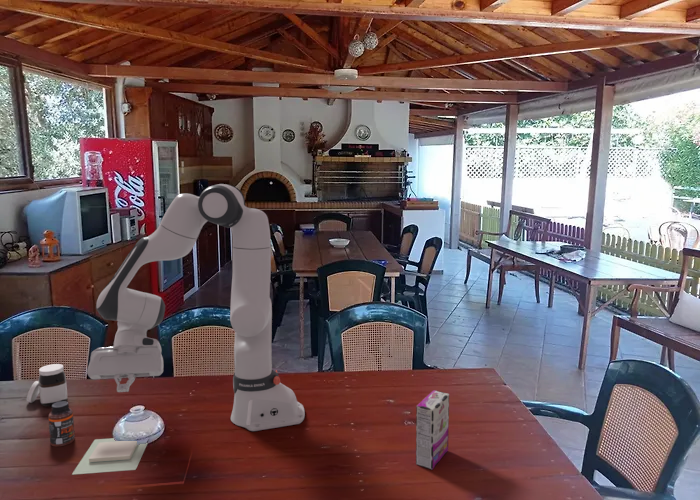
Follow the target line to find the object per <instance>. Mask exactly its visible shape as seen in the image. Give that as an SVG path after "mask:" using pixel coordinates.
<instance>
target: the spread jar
mask: <svg viewBox="0 0 700 500" xmlns="http://www.w3.org/2000/svg"><path fill="white" fill-rule="evenodd" d="M38 372H39V373H38V374H39V375H38V380H35V381H34V382H33V383H32V384H31V386H30V388H29V390H28V392H27V395H26V402H27V403H30V404H32V403H34V402H35V401H36V399H37V398H38V395H39V401H40V404H41V406H44V407H52V405H53V404H54V403H56V402H61V401H66V402H67V400H68V389H67V386H68V385H67V377H66V374H65V371H64V365H63V364H60V363H52V364H48V365H44V366H42V367H40V368H39V369H38Z"/></svg>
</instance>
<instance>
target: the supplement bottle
mask: <svg viewBox="0 0 700 500" xmlns="http://www.w3.org/2000/svg"><path fill="white" fill-rule="evenodd" d="M74 423H75V421H74V411H73V409H72V408H69V402H68V401H67V400H66V401H61V402H56V403H54V404H53V405H52V406H51V411H50V412H49V414H48V430H49V442H50V445H51V446H53V447H54V448H55V447H64V446H67V445H69V444H72V443H73V442H74V440H75V439H76V438H75V437H76V435H75V424H74Z"/></svg>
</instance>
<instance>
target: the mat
mask: <svg viewBox="0 0 700 500" xmlns="http://www.w3.org/2000/svg"><path fill="white" fill-rule="evenodd" d="M114 438H115V437H113V438H112V437H111V438H96V439H94V440H93V441H92V443H91V445H90V447H89V448H88V449H87V451H86V452H85V453H84V454H83V457H82V458H81V459H80V461H79V462H78V464H77V466H76V467H75V468H74V470H73V472H72V474H71V475H74V476H75V475H83V474H84V475H85V474H96V473H97V474H98V473H113V472H124V471H125V472H126V471H136V469H137V468H138V465H139V463H140V461H141V458H142V457H143V454H144V453H145V451H146V448H147V446H148V444H149V442H148V443H146V444H140V445H137V447H136V449H135V451H134V453H133V455H132V457H131V459H130V460H118V461H105V462H92V463H90V462H89V458H90V456H91V455H92V453H93V451H94V450H95V448H96V447H97V445H98V444H99V443H102V442H116V441H115V440H114Z"/></svg>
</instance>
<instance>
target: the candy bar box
mask: <svg viewBox="0 0 700 500" xmlns="http://www.w3.org/2000/svg"><path fill="white" fill-rule="evenodd" d="M415 409H416V410H415V411H416V412H415V414H416V416H415V419H416V420H415V421H416V422H415V423H416V424H415V426H416V427H415V429H416V432H415V436H416V437H415V439H416V440H415V444H416V445H415V446H416V447H415V465H416V466H419V467H422V468H426V469H429V470H434V468H435V467H436V466H437V464H439V462H440V461H441V459H442V458H443V457H444V456H445V454H446V453H447V452H449V429H450V428H449V420H450V418H449V415H450V410H449V409H450V393H448V392H447V393H446V392H443V391H438V390H436V389H435V390H432V391H430V393H428V394H427V395H426V396H425V397H424V398H423V399H422V400H421V401H420V402H419V403H418V404H416V408H415Z"/></svg>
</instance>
